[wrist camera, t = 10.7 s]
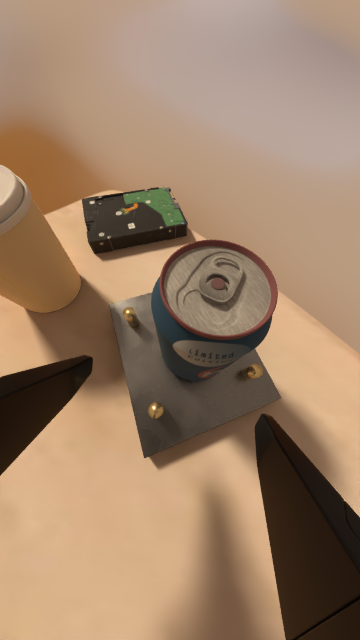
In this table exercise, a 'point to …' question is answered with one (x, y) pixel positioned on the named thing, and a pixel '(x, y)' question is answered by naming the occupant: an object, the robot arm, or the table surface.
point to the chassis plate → (180, 384)
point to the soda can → (211, 307)
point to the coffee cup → (31, 252)
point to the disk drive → (132, 219)
